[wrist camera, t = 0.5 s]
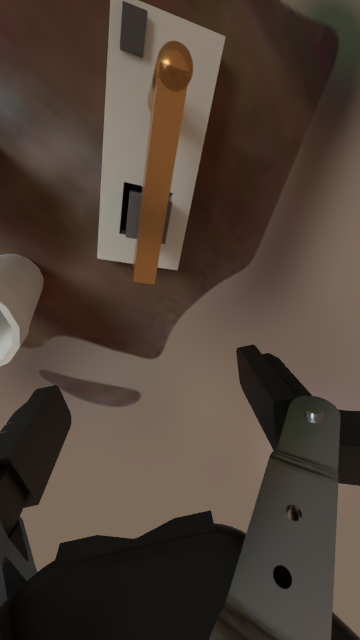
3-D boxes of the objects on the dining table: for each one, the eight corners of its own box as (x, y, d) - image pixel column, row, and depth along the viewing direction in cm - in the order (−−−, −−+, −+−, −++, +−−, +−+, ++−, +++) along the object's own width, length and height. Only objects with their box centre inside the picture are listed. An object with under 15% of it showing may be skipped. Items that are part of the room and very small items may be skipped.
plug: (126, 224, 31) (125, 237, 24) (129, 189, 30) (130, 192, 23) (157, 230, 32) (165, 244, 25) (162, 196, 31) (172, 201, 24)
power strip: (99, 252, 32) (96, 260, 29) (113, 10, 22) (110, -19, 19) (173, 263, 35) (178, 272, 32) (215, 51, 25) (228, 31, 22)
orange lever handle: (130, 255, 30) (130, 281, 23) (149, 82, 23) (160, 34, 15) (149, 258, 31) (156, 284, 23) (174, 90, 23) (196, 48, 16)
